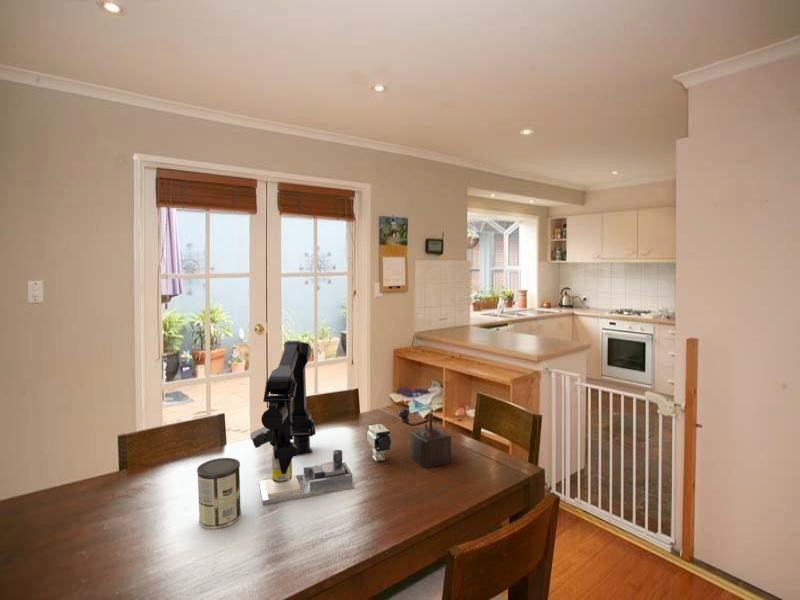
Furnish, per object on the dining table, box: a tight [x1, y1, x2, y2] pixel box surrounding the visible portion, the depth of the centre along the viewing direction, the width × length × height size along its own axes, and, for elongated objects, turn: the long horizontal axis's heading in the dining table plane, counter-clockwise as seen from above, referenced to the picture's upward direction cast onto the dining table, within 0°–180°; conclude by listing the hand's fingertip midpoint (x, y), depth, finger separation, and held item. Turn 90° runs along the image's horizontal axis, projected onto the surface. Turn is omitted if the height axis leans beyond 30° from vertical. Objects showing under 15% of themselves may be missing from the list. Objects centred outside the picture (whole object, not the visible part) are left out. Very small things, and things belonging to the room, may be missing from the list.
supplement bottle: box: [271, 453, 293, 484], centre depth 133 cm, size 6×6×10 cm
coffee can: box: [196, 457, 242, 530], centre depth 119 cm, size 10×10×14 cm
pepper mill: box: [397, 407, 452, 469], centre depth 154 cm, size 16×11×18 cm
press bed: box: [264, 474, 300, 497], centre depth 134 cm, size 9×9×1 cm
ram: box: [312, 449, 345, 480], centre depth 138 cm, size 7×9×8 cm
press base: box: [259, 461, 355, 505], centre depth 136 cm, size 12×26×4 cm, turn 111°
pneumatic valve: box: [365, 422, 392, 463], centre depth 156 cm, size 6×12×12 cm, turn 23°
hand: (282, 469), depth 134 cm, fingers closed on supplement bottle, 5 cm apart
